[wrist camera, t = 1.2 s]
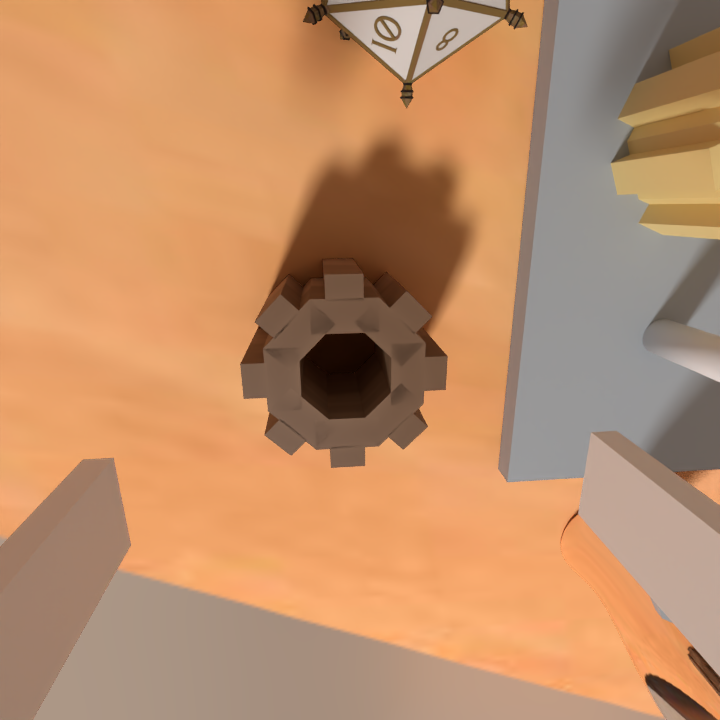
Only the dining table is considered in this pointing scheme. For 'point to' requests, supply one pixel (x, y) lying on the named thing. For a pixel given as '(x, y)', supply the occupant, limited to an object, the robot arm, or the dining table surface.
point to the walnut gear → (342, 390)
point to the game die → (413, 30)
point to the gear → (676, 143)
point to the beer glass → (645, 631)
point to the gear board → (607, 262)
